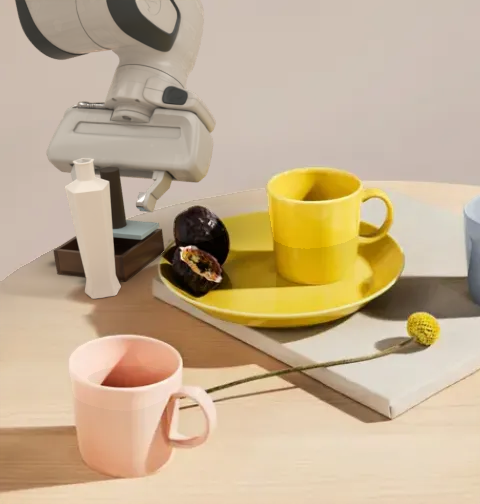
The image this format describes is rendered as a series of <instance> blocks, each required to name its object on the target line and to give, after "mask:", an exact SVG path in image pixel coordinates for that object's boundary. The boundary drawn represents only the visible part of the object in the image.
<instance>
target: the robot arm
mask: <svg viewBox="0 0 480 504" xmlns="http://www.w3.org/2000/svg"><path fill="white" fill-rule="evenodd" d="M14 2H15V7H16V12H17V17H18V20H19V24H20V27H21V29H22V31H23V33H24V36H25V37H26V38H27V39H28V41H29V42H30V44H31V45H33V47H34V48H35V49H36V50H38V51H39V52H40V53H42V54H43V55H44V56H46V57H47V58H51V59H53V60H57V61H58V60H59V61H64V60H69V59H73V58H77V57H81V56H84V55H88V54H91V53H99V52H106V51H112V52H113V53H114V54H115V55H116V56H117V57H118V59H119V60H118V61H119V62H118V64H117V66H116V68H115V71H114V74H113V77H112V80H111V83H110V87H109V89H108V91H107V95H106V97H105V101H104V102H103V101H97V102H96V101H95V102H94V101H93V102H90V101H86V100H85V101H84V100H83V101H79V102H78V103H76V104H73V105H72V106H70V107H68V108H67V109H66V110H65V111H64V114H63V116H62V118H61V120H60V121H59V123H58V125H57V127H56V129H55V130H54V133H53V135H52V137H51V139H50V141H49V143H48V145H47V149H46V152H45V153H46V157H47V160H48V161H49V163H50V164H51V165H53V166H54V167H55V168H56V169H57V170H58V171H59V172H61V173H67V174H70V176H71V181H72V182H73V181H74V180H76V179H77V177H76V171H75V165H74V163H73V161H75V160H78V159H81V158H91V159H94V161H93V165H94V172H95V176H100V169H102V168H105V167H118V168H119V172H120V178H130V179H131V178H133V179H145V180H153V183H152V184H151V185H150V186H149V188H148V189H146V191H145V192H142V191H141V192H138V195H137V200H136V201H135V207H136V209H138V210H139V211H140V212H146V213H153V212H154V210H155V208H156V204H157V201H158V200H160V198H162V197H163V195H164V194H166V192H167V191H168V190H169V189H170V188H171V185H172V182H173V181H174V182H185V183H199V182H201V181H202V180H203V179H204V178H206V176H207V175H208V172H209V169H210V165H211V161H212V155H213V150H214V137H213V135H212V134H211V133H212V132H214V129H215V128H216V123H217V122H216V119H215V117H214V114H213V113H212V112H211V110H210V108H209V107H208V105H207V104H206V103H205V102H204V101H203V99H201V97H200V96H199V95H198V94H197V93H196V92H194V91H192V90H189V89H187V81H188V78H189V76H190V74H191V72H192V71H193V69H194V68H195V65H196V62H197V58H198V55H199V51H200V47H201V43H202V39H203V33H204V24H205V22H204V21H205V13H204V6H203V3H202V1H201V0H14Z"/></svg>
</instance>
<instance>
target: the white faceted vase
mask: <svg viewBox="0 0 480 504" xmlns="http://www.w3.org/2000/svg"><path fill="white" fill-rule="evenodd" d="M93 161H94V159H91V158H81V159H78V160H75V161H73V163H74V165H75V171H76V177H77V179H76V180H74V181H73V180H72V181H71V182H69V183H68V184H66V185H65V186H64V191H65V196H66V200H67V205H68V208H69V212H70V217H71V221H72V224H73V229H74V233H75V236H76V238H77V242H78V246H79V250H80V254H81V259H82V263H83V267H84V271H85V275H86V277H85V286H84V293H85V294H86V295H87V296H88V297H90V298H91V299H92V300H96V299H103V298H110V297H115V296H116V295H118V293H119V291H120V289H121V287H122V286H121V284H120V281H118V279H117V277H116V273H115V258H114V244H113V229H112V215H111V200H110V186H109V181H107V180H104V179H101V178H100V177H98V176H96V175H95V172H94V165H93Z"/></svg>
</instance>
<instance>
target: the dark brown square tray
mask: <svg viewBox="0 0 480 504" xmlns="http://www.w3.org/2000/svg"><path fill="white" fill-rule="evenodd" d="M164 242H165V241H164V235H163V228H158V229H156V230H155V231H153V232H152V233H151V234H149V235H148V236H146V237H145V238H144V239H142V240H138V239H127V238H117V237H113V244H114V258H115V273H116V277H117V279H118V281H119V282H127V281H129V280H130V279H131V278H132V277H134V276H135V275H136V274H138V273H139V272H141V271H142V270H143V269H144V268H145V267H147V266H148V265H149V264H151V262H153V261H155V260H156V259H157V258H159V257H160V256H161V255H162V254H163V253H162V252H163V251H164V250H165V243H164ZM52 251H53V257H54V262H55V269H56V274H57V275H62V276H63V275H64V276H72V277H73V276H74V277H82V278H86V275H85V271H84V267H83V263H82V259H81V254H80V250H79V246H78V242H77V238H76V235H75V236H73V237H72V238H70V239H68V240H67V241H65V242H64V243H62V244H61V245H59V246H57V247H56V248H55V249H52ZM161 253H162V254H161Z"/></svg>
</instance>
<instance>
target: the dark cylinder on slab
mask: <svg viewBox="0 0 480 504" xmlns="http://www.w3.org/2000/svg"><path fill="white" fill-rule="evenodd" d="M99 178H101V179H104V180H107V181H109V186H110V200H111V215H112V229H113V237H117V238H127V239H138V240H142V239H144V238H145V237H146V236H148V235H149V234H151V233H152V232H153V231H155V230H156V229H160V223H159V222H155V221H154V222H153V221H145V220H144V221H143V220H131V219H127V216H126V209H125V203H124V195H123V189H122V181H121V177H120V172H119V168H118V167H105V168H102V169H100V175H99Z"/></svg>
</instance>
